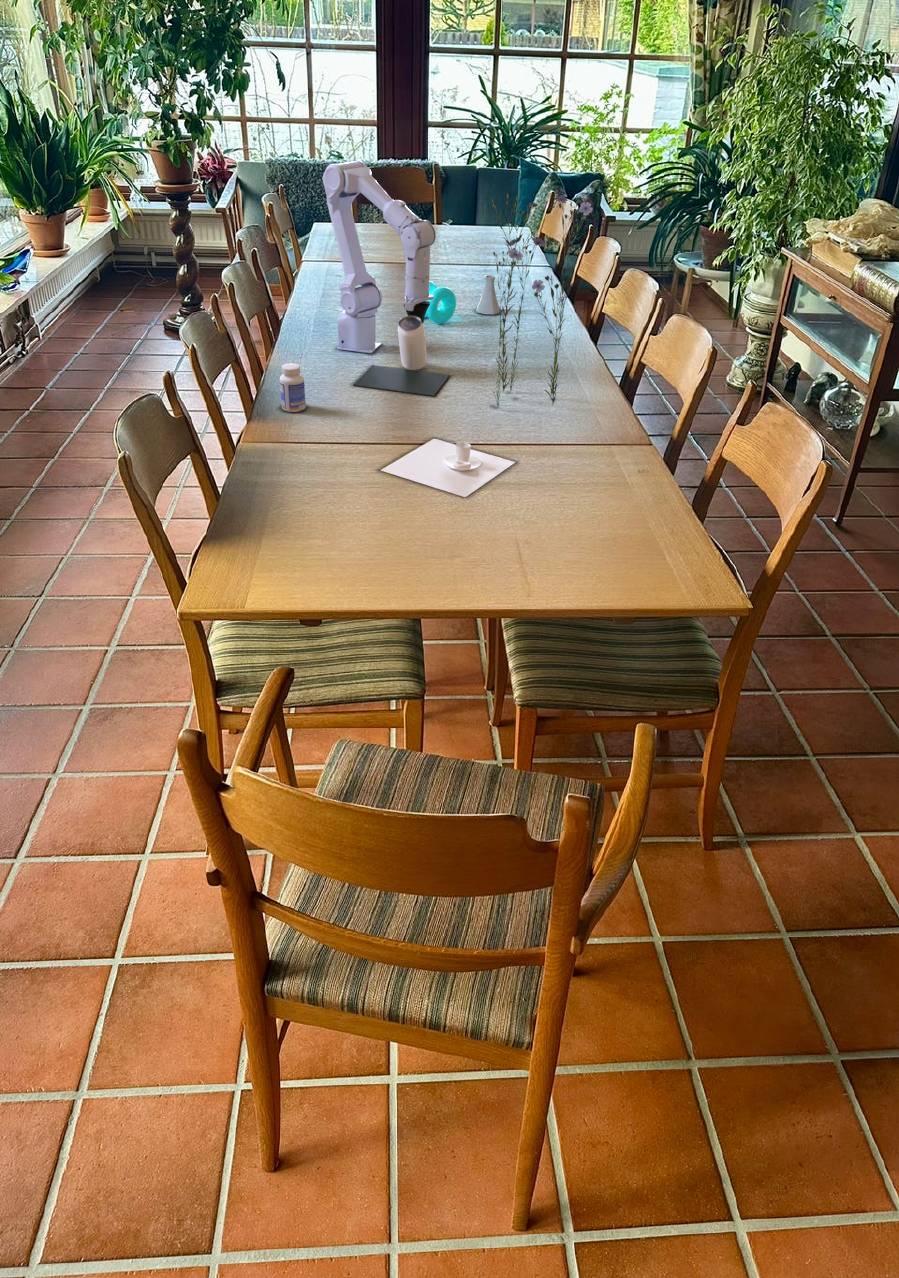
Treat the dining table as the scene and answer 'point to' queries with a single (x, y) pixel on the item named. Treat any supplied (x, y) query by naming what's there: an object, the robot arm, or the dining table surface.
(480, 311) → the flask
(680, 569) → the dining table surface
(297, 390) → the pill bottle
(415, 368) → the can
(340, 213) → the robot arm
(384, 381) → the mat
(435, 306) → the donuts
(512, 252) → the wildflower
